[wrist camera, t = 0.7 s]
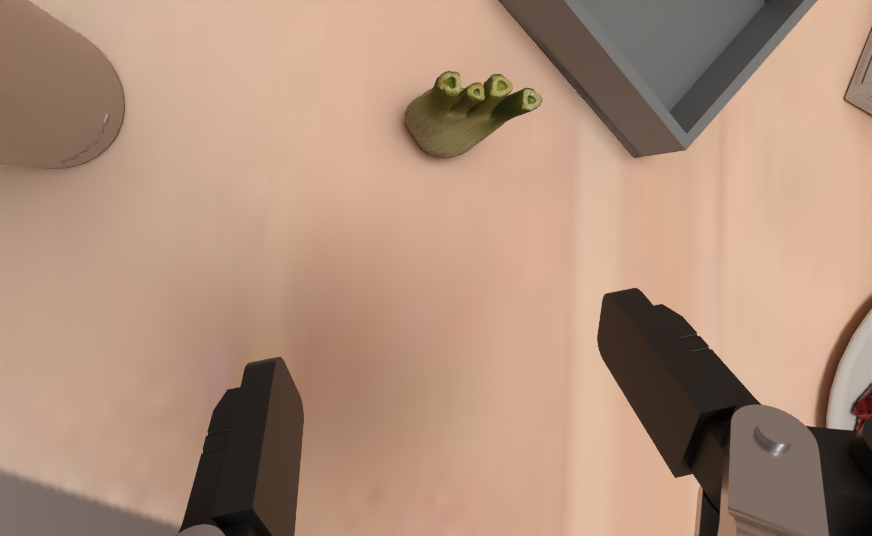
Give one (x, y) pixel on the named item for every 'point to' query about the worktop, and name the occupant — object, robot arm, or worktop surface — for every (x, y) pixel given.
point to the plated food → (853, 382)
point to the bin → (657, 58)
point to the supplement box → (862, 81)
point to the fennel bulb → (464, 113)
